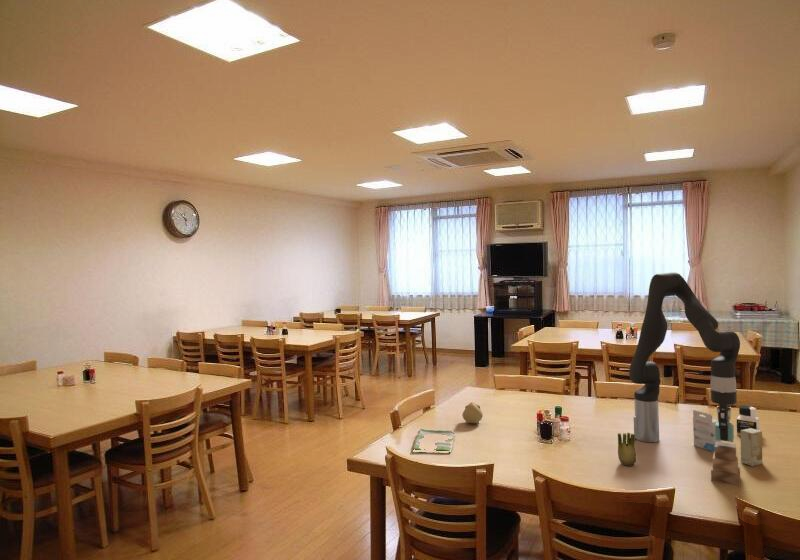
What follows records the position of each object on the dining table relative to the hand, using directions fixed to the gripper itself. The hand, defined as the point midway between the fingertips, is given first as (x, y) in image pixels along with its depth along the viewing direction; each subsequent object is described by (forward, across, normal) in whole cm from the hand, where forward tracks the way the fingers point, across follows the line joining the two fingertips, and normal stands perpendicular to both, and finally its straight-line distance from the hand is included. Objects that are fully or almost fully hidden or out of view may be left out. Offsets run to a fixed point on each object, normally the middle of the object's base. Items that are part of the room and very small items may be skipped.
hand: (724, 437), depth 173 cm
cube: (0, 0, 0) cm, 0 cm away
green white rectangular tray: (+15, +21, -106) cm, 109 cm away
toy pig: (+15, -13, -105) cm, 107 cm away
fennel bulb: (+15, +3, -31) cm, 34 cm away
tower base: (+15, 0, 0) cm, 15 cm away
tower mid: (+11, 0, 0) cm, 11 cm away
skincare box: (+15, -21, +7) cm, 27 cm away
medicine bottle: (+15, -57, +5) cm, 59 cm away
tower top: (+7, 0, 0) cm, 7 cm away
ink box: (+15, -31, -8) cm, 35 cm away
